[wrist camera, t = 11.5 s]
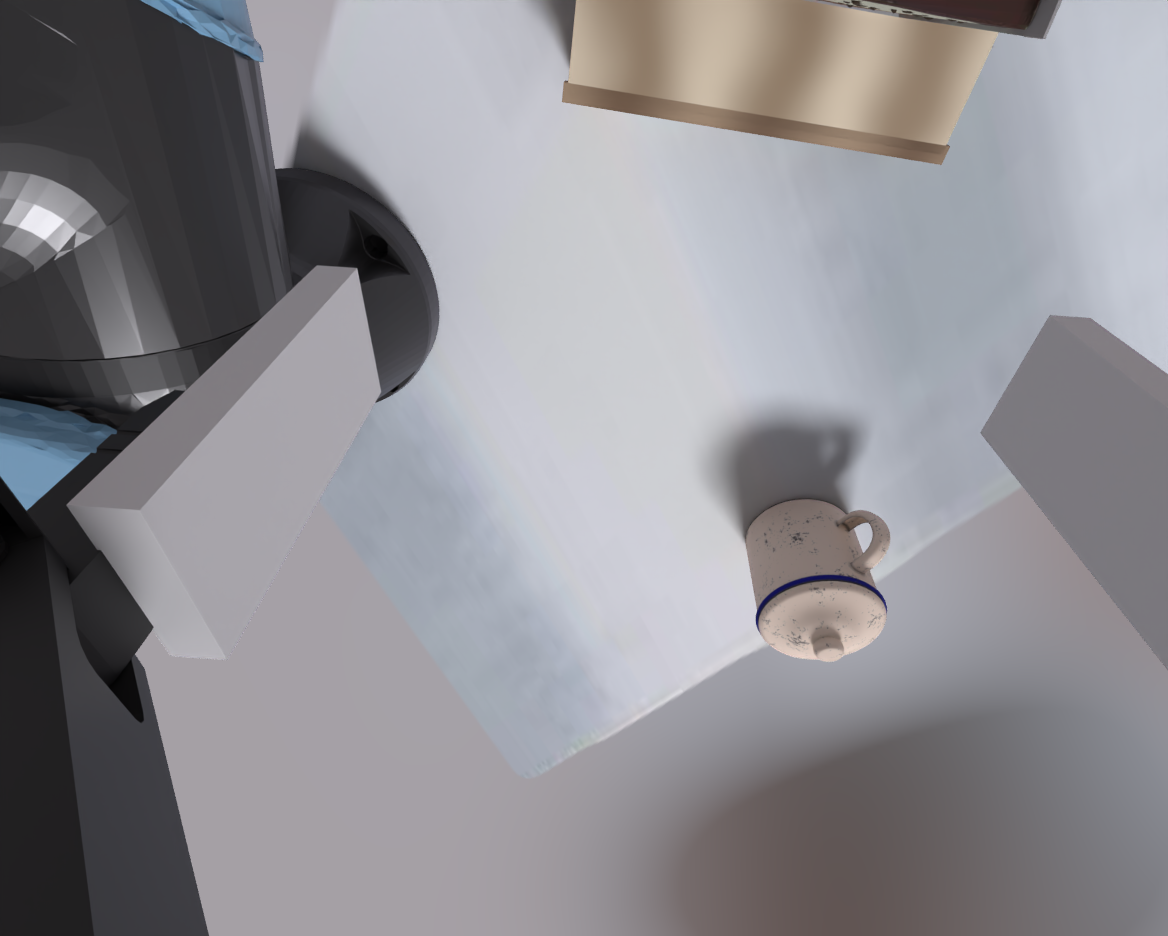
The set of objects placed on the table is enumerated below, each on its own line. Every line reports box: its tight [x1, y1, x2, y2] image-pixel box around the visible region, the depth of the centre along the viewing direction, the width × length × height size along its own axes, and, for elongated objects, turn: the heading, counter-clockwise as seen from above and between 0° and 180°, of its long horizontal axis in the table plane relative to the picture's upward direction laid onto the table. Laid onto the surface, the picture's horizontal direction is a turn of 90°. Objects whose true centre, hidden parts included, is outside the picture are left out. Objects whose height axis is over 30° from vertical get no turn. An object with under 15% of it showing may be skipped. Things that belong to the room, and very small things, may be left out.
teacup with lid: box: [746, 499, 890, 662], centre depth 45 cm, size 12×9×12 cm
